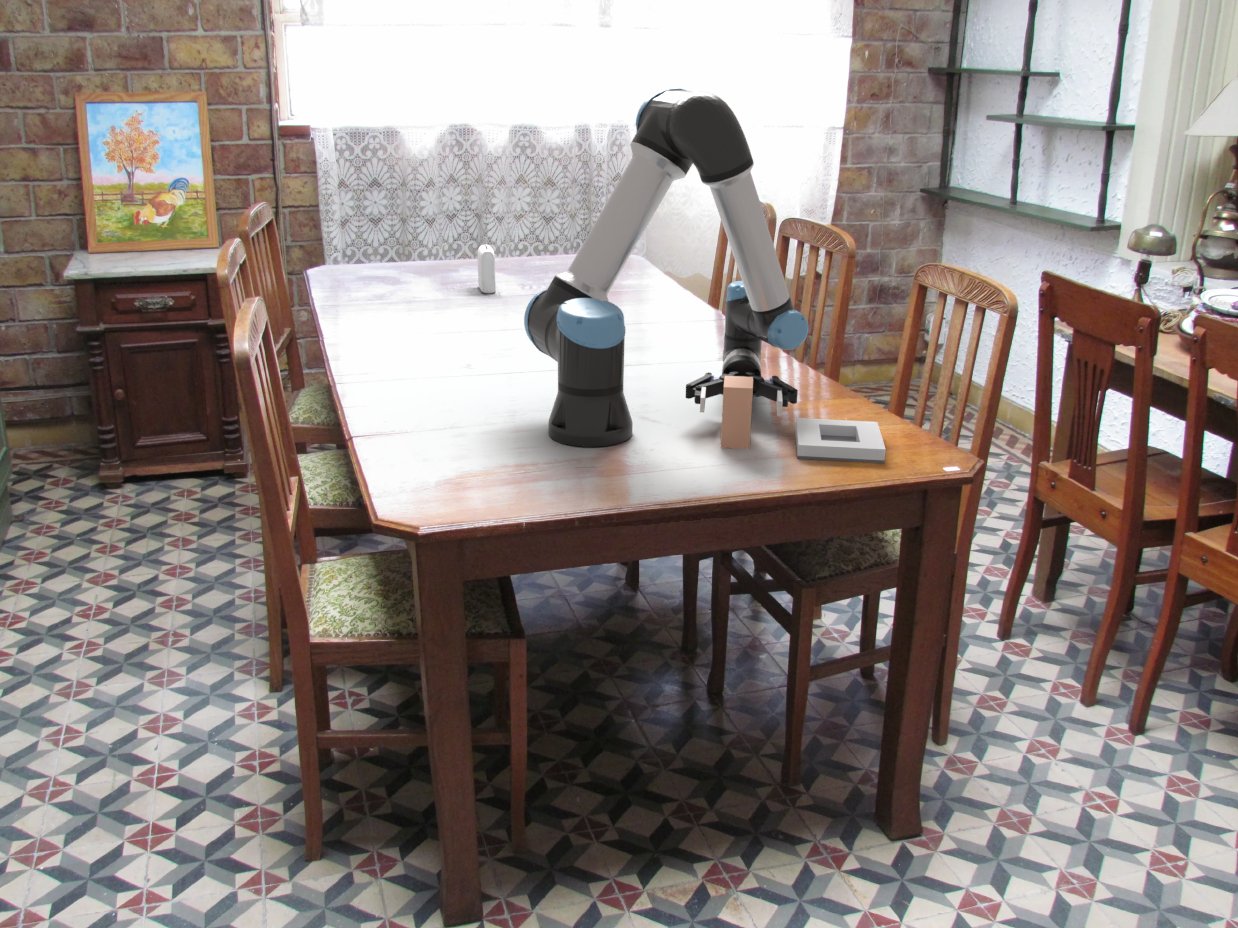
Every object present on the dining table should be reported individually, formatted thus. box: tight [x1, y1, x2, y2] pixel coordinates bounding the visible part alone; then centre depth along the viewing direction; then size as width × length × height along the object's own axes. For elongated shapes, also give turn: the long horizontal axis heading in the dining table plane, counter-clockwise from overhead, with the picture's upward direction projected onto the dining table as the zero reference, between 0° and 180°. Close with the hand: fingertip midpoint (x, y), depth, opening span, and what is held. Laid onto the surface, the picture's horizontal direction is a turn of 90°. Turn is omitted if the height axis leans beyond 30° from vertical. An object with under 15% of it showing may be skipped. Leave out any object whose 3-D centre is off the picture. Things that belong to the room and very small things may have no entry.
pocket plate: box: [794, 417, 887, 464], centre depth 200 cm, size 15×15×2 cm
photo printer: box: [476, 244, 496, 294], centre depth 314 cm, size 10×4×12 cm, turn 13°
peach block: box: [720, 376, 753, 450], centre depth 200 cm, size 5×7×11 cm
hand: (741, 407), depth 200 cm, fingers open, 13 cm apart
